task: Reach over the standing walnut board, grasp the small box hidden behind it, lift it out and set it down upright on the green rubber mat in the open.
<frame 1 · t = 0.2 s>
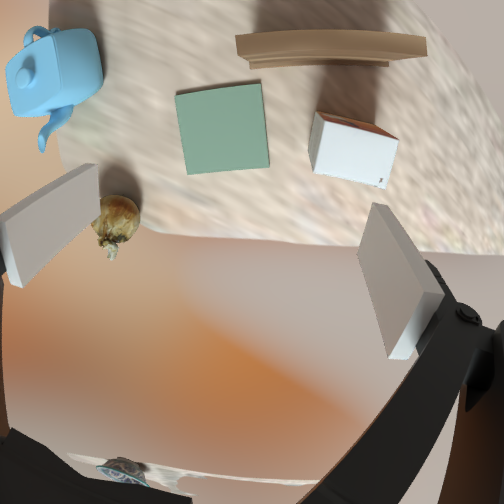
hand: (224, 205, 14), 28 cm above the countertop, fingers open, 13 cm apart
screen: (319, 53, 32), on the countertop
onion: (125, 210, 46), on the countertop
bowl: (128, 461, 109), on the countertop
small box: (340, 136, 38), on the countertop
teapot: (75, 79, 36), on the countertop
mat: (222, 129, 39), on the countertop
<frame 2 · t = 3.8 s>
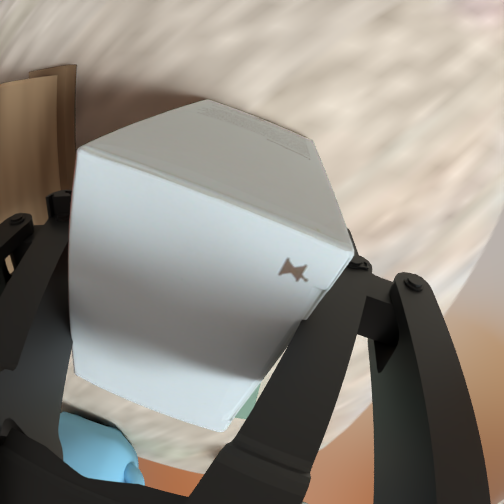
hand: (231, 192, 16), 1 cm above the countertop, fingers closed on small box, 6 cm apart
screen: (61, 201, 17), on the countertop
small box: (233, 187, 16), on the countertop, touching gripper
teapot: (112, 435, 35), on the countertop
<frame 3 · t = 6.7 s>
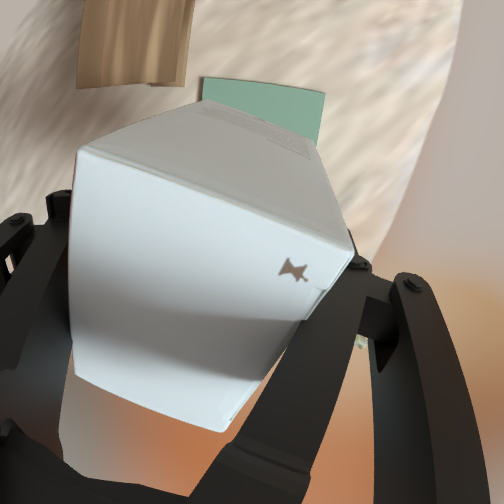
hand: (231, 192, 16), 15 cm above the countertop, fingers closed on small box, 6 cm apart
screen: (179, 5, 22), on the countertop
small box: (233, 187, 16), point 14 cm above the countertop, touching gripper
mat: (257, 139, 29), on the countertop
when the fingers open (2 cm above the countertop, at t = 9.6 s): small box drops 1 cm, resting on mat.
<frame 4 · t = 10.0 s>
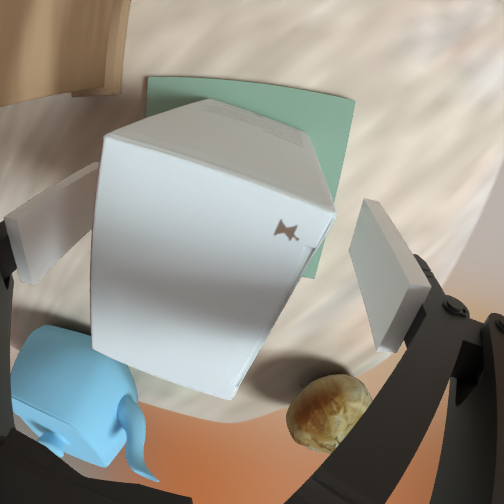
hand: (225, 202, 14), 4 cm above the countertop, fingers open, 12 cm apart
onion: (330, 382, 26), on the countertop
small box: (235, 179, 17), resting on mat
teapot: (105, 364, 29), on the countertop
mat: (238, 178, 18), on the countertop
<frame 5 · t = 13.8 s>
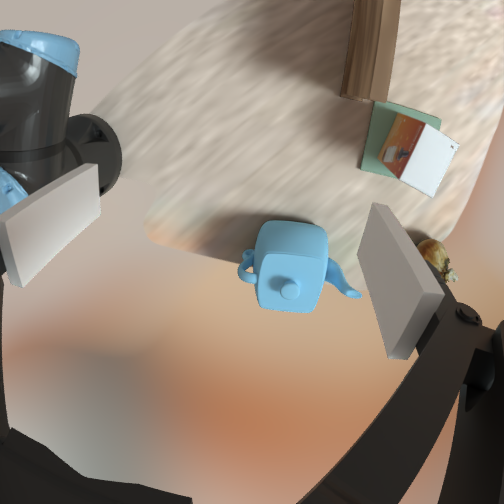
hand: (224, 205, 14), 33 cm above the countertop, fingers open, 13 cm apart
screen: (359, 44, 35), on the countertop
onion: (423, 251, 50), on the countertop
small box: (401, 143, 41), resting on mat
teapot: (298, 250, 52), on the countertop
mat: (401, 142, 41), on the countertop
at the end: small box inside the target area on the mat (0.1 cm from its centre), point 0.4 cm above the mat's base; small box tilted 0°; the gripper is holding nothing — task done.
